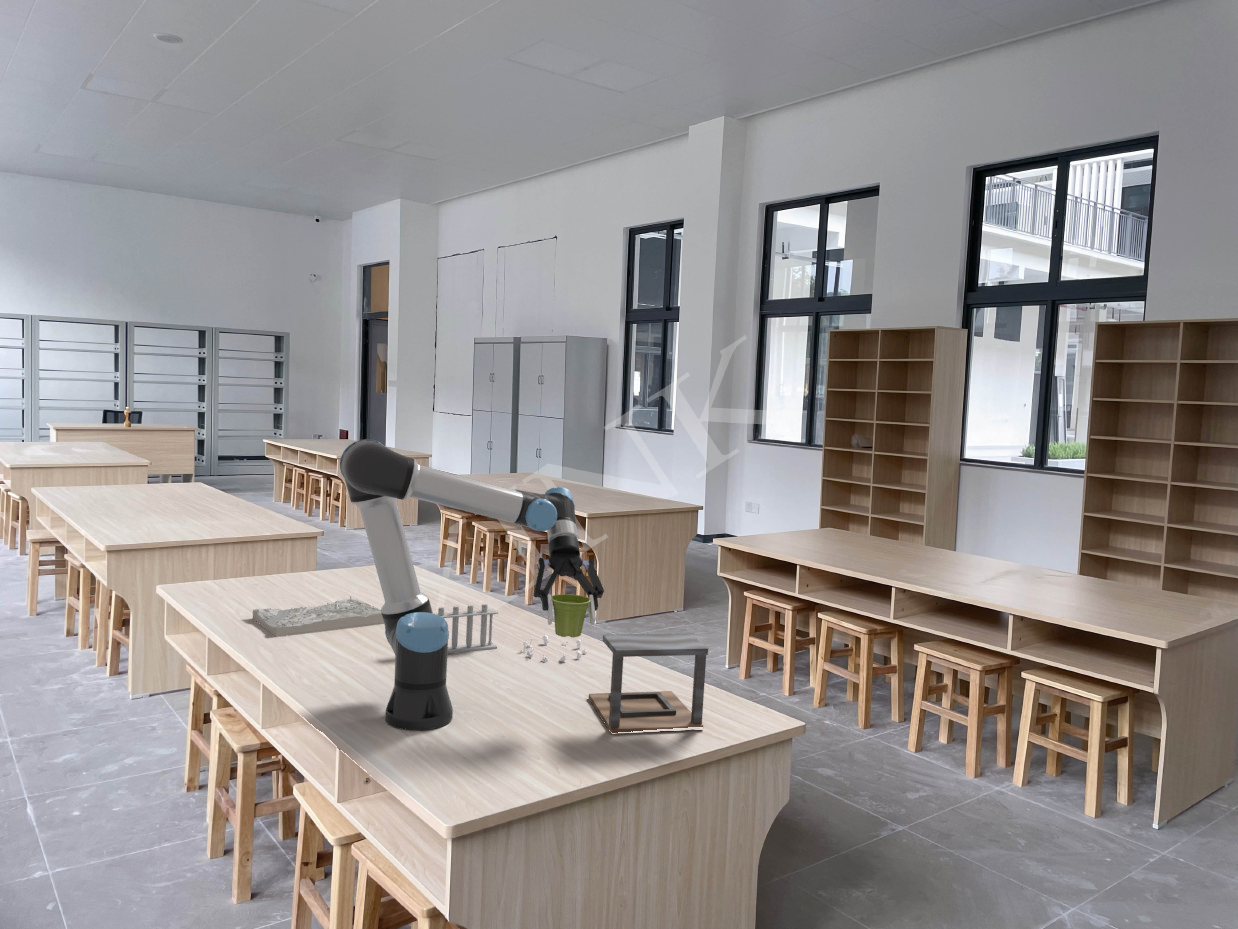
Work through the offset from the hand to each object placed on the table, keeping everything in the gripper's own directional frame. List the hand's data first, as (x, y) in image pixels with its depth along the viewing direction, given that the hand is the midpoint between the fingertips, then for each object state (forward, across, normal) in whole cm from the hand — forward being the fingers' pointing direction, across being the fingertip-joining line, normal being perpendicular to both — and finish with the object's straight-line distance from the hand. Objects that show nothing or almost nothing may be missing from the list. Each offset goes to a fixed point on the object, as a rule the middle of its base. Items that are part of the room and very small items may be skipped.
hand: (572, 621), depth 206 cm
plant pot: (+1, 0, -5) cm, 5 cm away
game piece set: (-21, -7, -55) cm, 60 cm away
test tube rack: (-24, +22, -58) cm, 67 cm away
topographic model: (-48, +62, -84) cm, 115 cm away
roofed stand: (+15, -20, -18) cm, 31 cm away
